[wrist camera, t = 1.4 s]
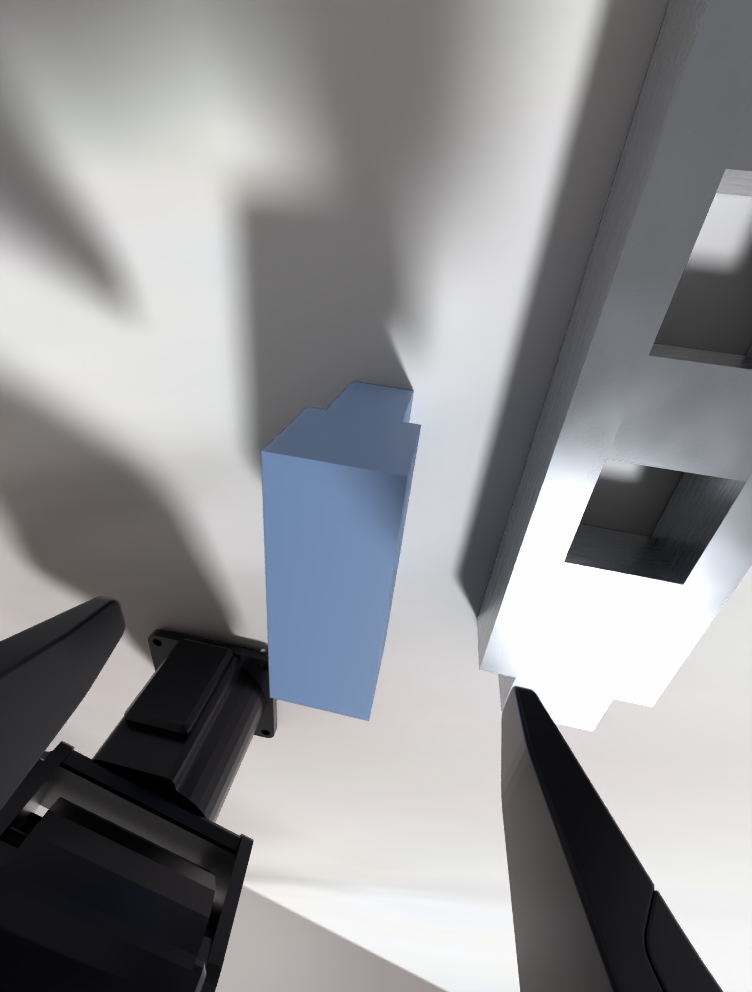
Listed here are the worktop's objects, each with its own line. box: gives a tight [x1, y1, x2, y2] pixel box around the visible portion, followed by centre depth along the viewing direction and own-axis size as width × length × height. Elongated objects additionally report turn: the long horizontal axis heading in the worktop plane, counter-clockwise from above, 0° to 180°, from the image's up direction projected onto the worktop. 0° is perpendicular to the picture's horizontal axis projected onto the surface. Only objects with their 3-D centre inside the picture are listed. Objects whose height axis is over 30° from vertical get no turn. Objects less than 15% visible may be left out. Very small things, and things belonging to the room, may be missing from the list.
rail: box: [477, 0, 752, 732], centre depth 11 cm, size 24×6×2 cm, turn 174°
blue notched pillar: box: [261, 381, 421, 721], centre depth 13 cm, size 8×3×6 cm, turn 174°
